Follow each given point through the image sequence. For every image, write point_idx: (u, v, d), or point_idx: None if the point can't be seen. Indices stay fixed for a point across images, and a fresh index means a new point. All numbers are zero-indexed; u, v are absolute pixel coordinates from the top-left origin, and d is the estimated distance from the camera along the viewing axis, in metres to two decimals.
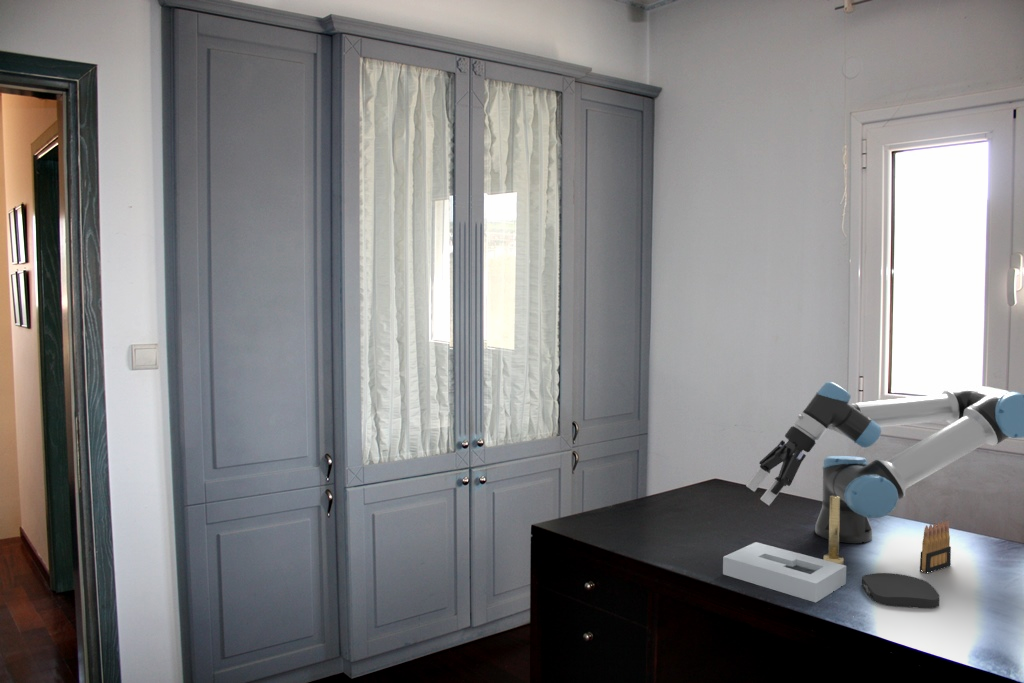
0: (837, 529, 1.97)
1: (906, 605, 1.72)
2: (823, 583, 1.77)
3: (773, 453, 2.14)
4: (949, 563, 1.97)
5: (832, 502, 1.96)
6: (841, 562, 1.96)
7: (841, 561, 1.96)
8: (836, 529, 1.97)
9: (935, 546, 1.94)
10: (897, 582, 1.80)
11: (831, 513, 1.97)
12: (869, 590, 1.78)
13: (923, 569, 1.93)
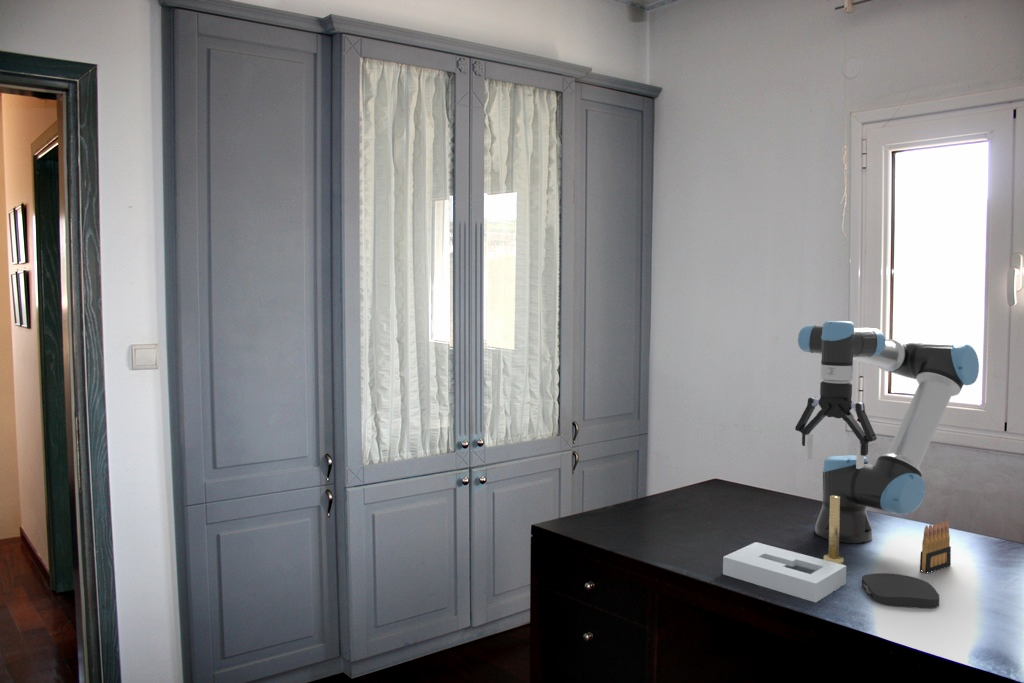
0: (837, 529, 1.97)
1: (906, 605, 1.72)
2: (823, 583, 1.77)
3: (808, 414, 2.01)
4: (949, 563, 1.97)
5: (832, 502, 1.96)
6: (841, 562, 1.96)
7: (841, 561, 1.96)
8: (836, 529, 1.97)
9: (935, 546, 1.94)
10: (897, 582, 1.80)
11: (831, 513, 1.97)
12: (869, 590, 1.78)
13: (923, 569, 1.93)
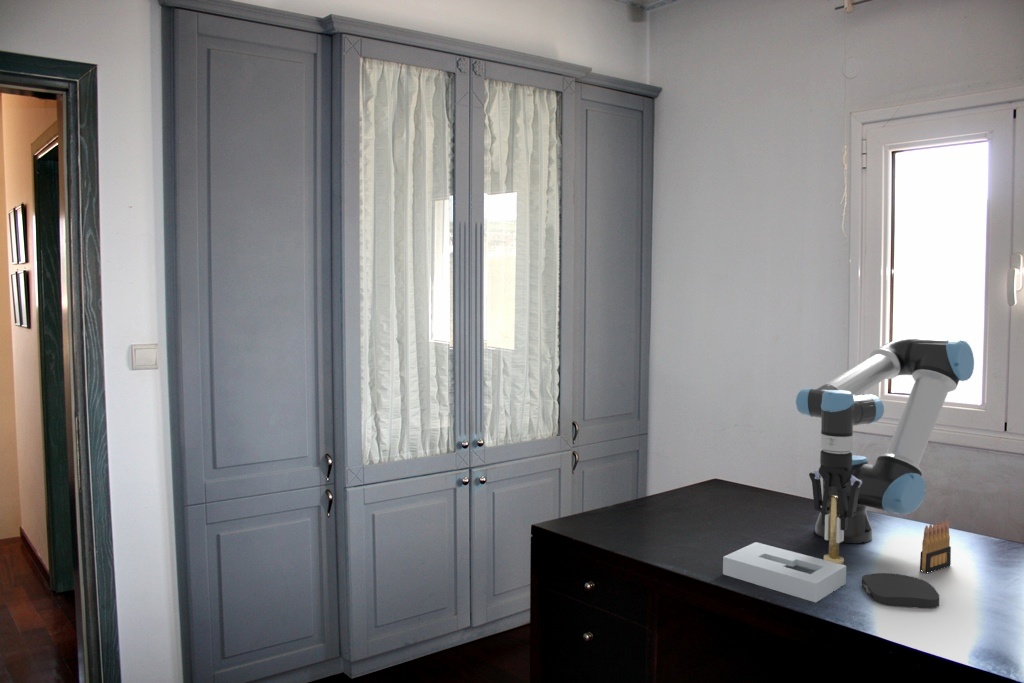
0: None
1: (906, 605, 1.72)
2: (823, 583, 1.77)
3: (817, 489, 2.00)
4: (949, 563, 1.97)
5: (832, 502, 1.96)
6: (841, 562, 1.96)
7: (841, 561, 1.96)
8: (836, 529, 1.97)
9: (935, 546, 1.94)
10: (897, 582, 1.80)
11: (831, 513, 1.97)
12: (869, 590, 1.78)
13: (923, 569, 1.93)
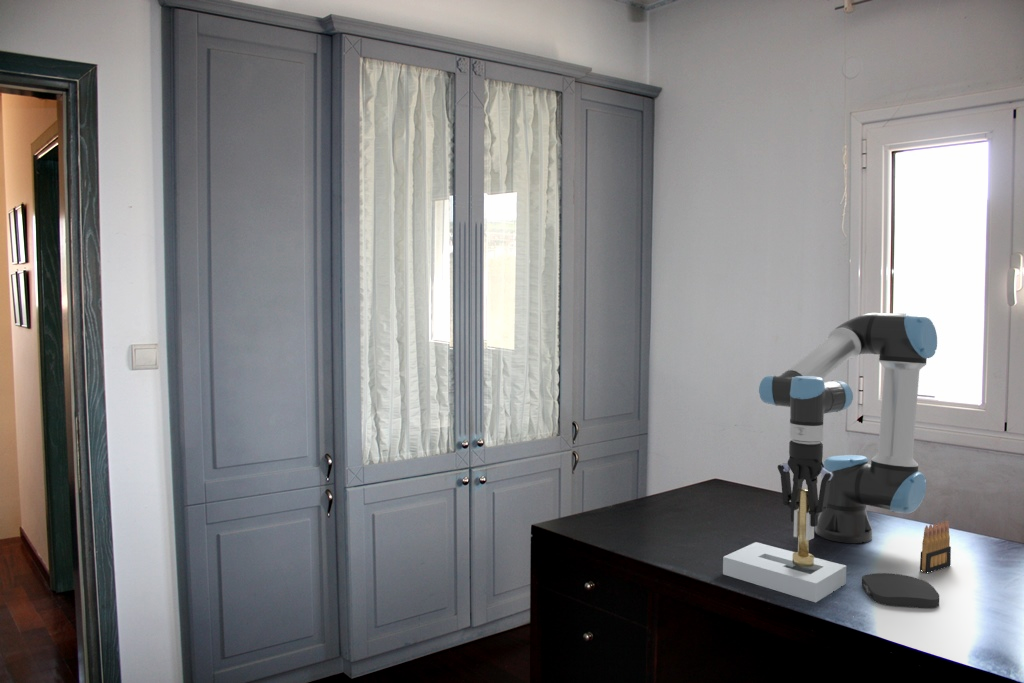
0: None
1: (906, 605, 1.72)
2: (823, 583, 1.77)
3: (786, 482, 1.86)
4: (949, 563, 1.97)
5: (802, 496, 1.83)
6: (811, 560, 1.83)
7: (811, 559, 1.83)
8: None
9: (935, 546, 1.94)
10: (897, 582, 1.80)
11: (800, 508, 1.83)
12: (869, 590, 1.78)
13: (923, 569, 1.93)
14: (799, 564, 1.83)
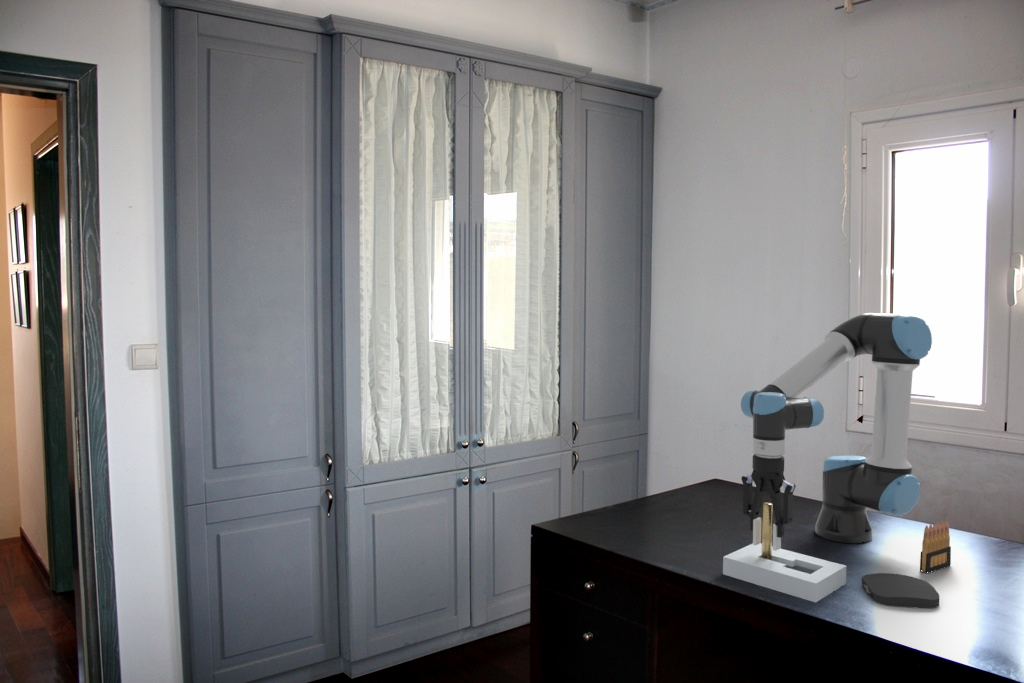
0: (769, 537, 1.90)
1: (906, 605, 1.72)
2: (823, 583, 1.77)
3: (748, 493, 1.94)
4: (949, 563, 1.97)
5: (764, 509, 1.90)
6: None
7: None
8: (768, 537, 1.90)
9: (935, 546, 1.94)
10: (897, 582, 1.80)
11: (763, 521, 1.91)
12: (869, 590, 1.78)
13: (923, 569, 1.93)
14: None
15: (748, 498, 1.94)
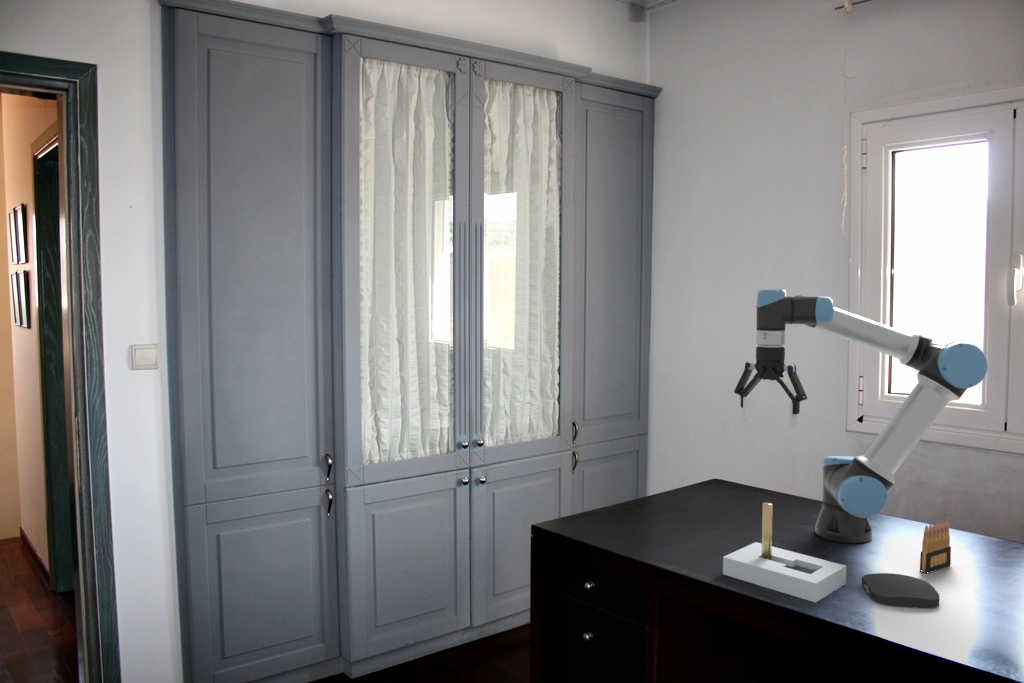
0: (769, 537, 1.90)
1: (906, 605, 1.72)
2: (823, 583, 1.77)
3: (745, 378, 2.14)
4: (949, 563, 1.97)
5: (765, 509, 1.90)
6: None
7: None
8: (768, 537, 1.90)
9: (935, 546, 1.94)
10: (897, 582, 1.80)
11: (763, 521, 1.91)
12: (869, 590, 1.78)
13: (923, 569, 1.93)
14: None
15: (744, 381, 2.14)
